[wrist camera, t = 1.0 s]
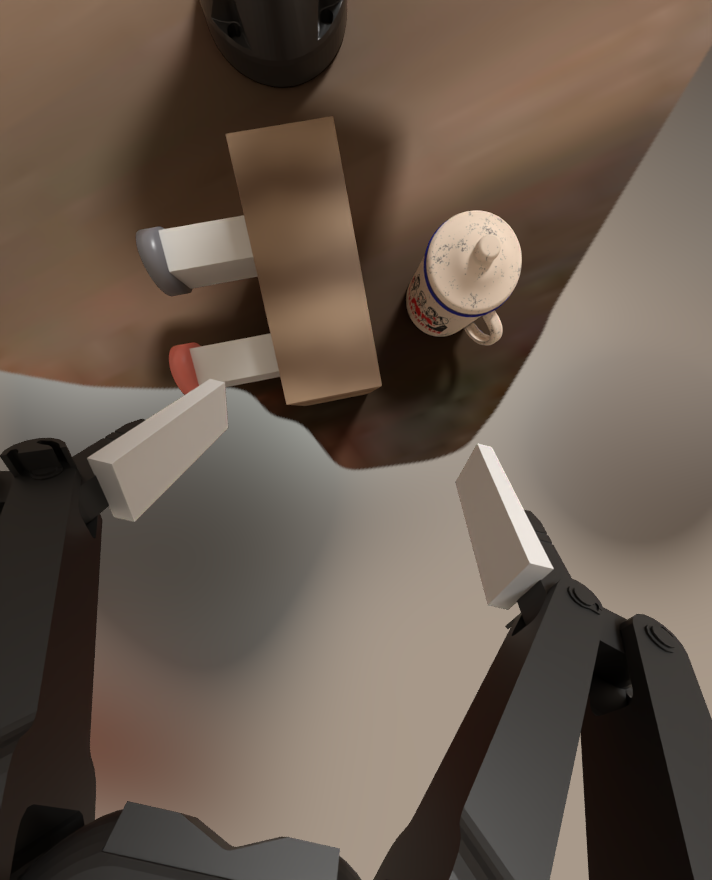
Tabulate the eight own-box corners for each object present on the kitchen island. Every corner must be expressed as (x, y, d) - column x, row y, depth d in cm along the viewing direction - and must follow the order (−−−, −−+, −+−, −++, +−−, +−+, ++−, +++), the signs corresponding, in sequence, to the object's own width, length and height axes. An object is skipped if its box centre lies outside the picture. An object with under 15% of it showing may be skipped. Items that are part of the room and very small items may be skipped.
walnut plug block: (268, 236, 32) (225, 133, 20) (336, 224, 32) (333, 116, 20) (305, 406, 34) (286, 404, 22) (368, 393, 35) (382, 385, 23)
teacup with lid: (388, 290, 33) (414, 227, 22) (450, 246, 33) (509, 159, 22) (441, 373, 35) (491, 355, 23) (501, 331, 35) (581, 293, 23)
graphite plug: (168, 251, 28) (128, 214, 22) (291, 229, 28) (280, 188, 23) (182, 304, 28) (146, 281, 23) (302, 282, 29) (294, 254, 23)
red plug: (194, 351, 29) (162, 339, 24) (312, 329, 29) (306, 312, 24) (207, 400, 29) (178, 399, 24) (322, 378, 30) (318, 372, 25)
